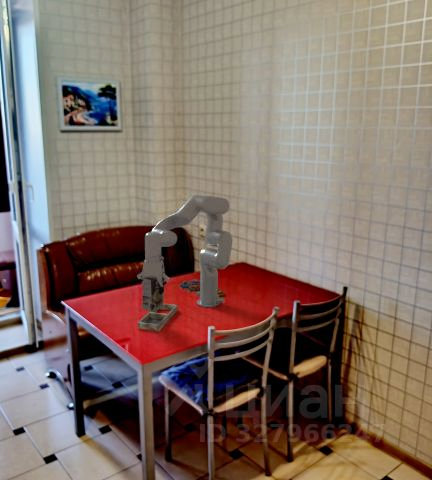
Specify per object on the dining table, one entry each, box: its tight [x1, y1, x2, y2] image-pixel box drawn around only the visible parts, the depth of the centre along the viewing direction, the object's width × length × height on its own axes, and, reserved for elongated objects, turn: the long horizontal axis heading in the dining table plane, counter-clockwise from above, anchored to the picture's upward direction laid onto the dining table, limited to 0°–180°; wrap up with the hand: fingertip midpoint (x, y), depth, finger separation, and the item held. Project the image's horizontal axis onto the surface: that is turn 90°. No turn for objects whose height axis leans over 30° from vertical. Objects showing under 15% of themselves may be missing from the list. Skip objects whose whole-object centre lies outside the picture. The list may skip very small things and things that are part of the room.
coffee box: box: [141, 277, 166, 312], centre depth 223 cm, size 9×6×16 cm
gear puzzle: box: [178, 279, 226, 297], centre depth 275 cm, size 31×16×4 cm, turn 46°
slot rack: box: [137, 303, 179, 332], centre depth 233 cm, size 11×27×3 cm, turn 166°
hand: (153, 292), depth 223 cm, fingers closed on coffee box, 7 cm apart
